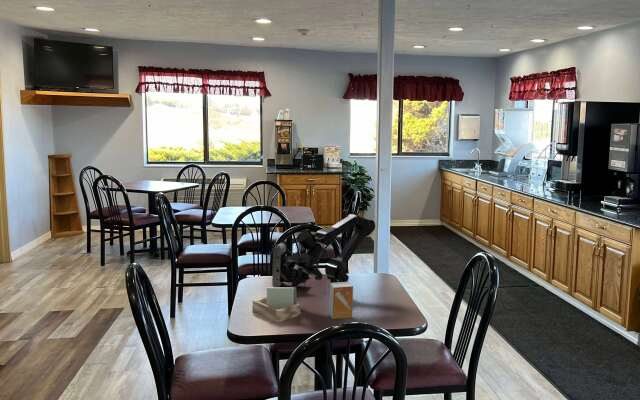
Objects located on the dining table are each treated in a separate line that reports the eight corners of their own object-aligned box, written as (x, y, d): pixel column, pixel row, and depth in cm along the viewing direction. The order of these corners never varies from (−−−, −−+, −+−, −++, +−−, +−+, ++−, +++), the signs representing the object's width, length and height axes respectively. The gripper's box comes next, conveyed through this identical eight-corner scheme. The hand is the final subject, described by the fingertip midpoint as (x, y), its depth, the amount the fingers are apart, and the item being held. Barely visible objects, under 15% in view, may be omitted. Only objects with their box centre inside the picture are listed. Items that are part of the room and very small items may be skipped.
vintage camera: (304, 292, 247) (306, 248, 244) (271, 288, 250) (272, 245, 247) (309, 285, 256) (311, 244, 253) (277, 282, 259) (278, 241, 256)
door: (267, 310, 219) (266, 287, 217) (296, 310, 219) (296, 287, 217) (266, 311, 217) (266, 288, 216) (296, 311, 218) (296, 288, 216)
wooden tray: (275, 304, 229) (275, 294, 228) (301, 314, 218) (301, 303, 217) (252, 311, 221) (252, 300, 220) (278, 322, 209) (278, 311, 209)
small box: (332, 319, 213) (333, 287, 211) (328, 313, 219) (329, 282, 217) (352, 318, 214) (353, 286, 212) (348, 312, 221) (348, 281, 219)
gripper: (286, 241, 232) (266, 271, 227) (317, 249, 219) (297, 281, 213) (300, 256, 239) (281, 285, 233) (331, 264, 226) (312, 296, 220)
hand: (292, 287), depth 225 cm, fingers closed
